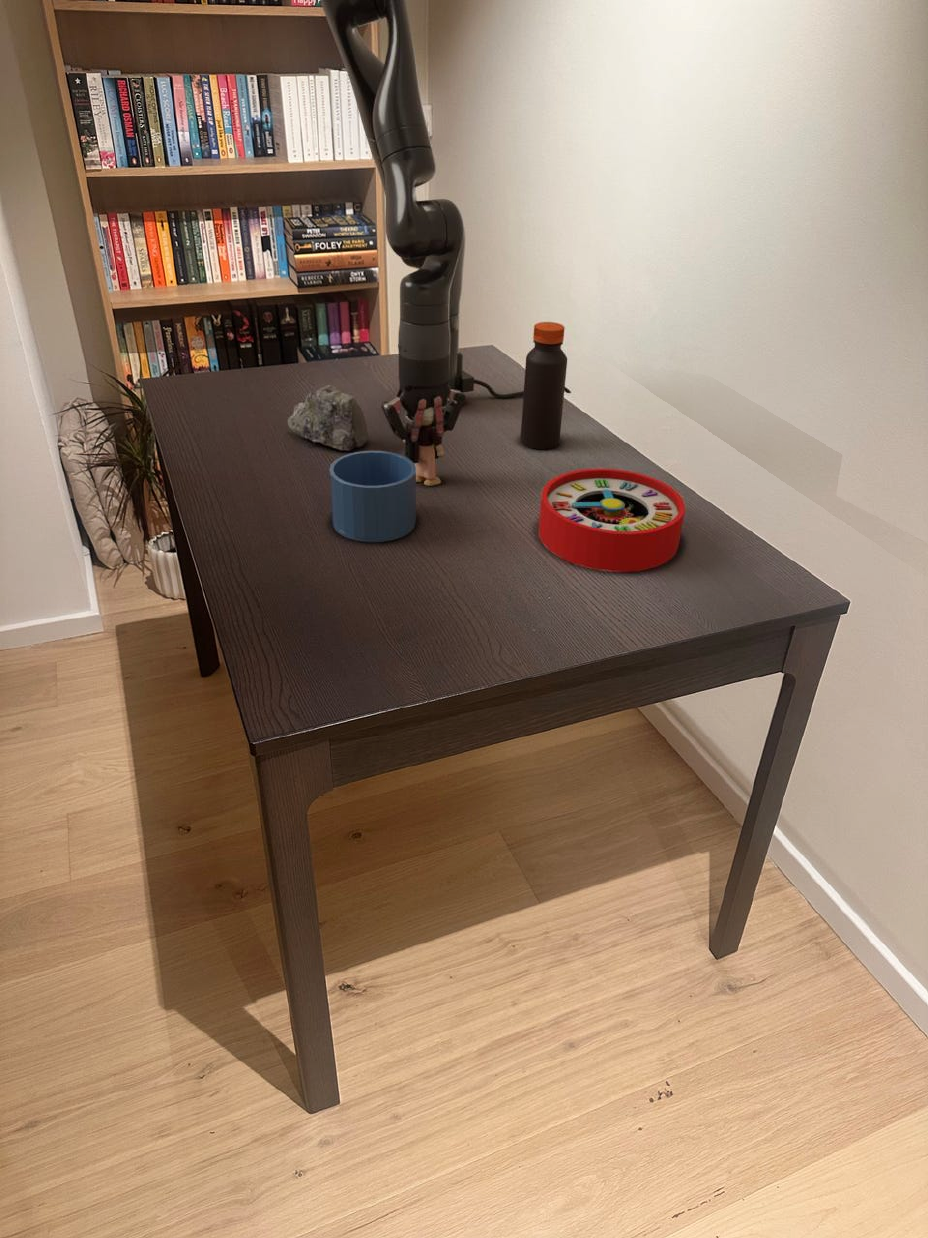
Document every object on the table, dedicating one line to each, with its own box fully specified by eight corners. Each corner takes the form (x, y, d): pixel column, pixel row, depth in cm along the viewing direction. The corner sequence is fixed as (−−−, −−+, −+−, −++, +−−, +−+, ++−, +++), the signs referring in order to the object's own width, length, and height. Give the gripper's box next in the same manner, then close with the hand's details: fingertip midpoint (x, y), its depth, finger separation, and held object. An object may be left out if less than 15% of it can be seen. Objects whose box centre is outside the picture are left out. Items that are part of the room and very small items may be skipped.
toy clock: (703, 533, 120) (553, 534, 118) (695, 571, 123) (549, 572, 122) (664, 468, 136) (532, 468, 135) (658, 503, 140) (529, 503, 138)
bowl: (392, 496, 139) (391, 444, 134) (430, 530, 130) (431, 476, 126) (319, 513, 134) (316, 460, 129) (354, 550, 125) (351, 494, 120)
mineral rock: (285, 432, 158) (280, 375, 152) (341, 421, 163) (338, 366, 157) (316, 460, 149) (312, 401, 143) (374, 447, 154) (373, 390, 148)
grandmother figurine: (450, 480, 144) (453, 403, 137) (440, 489, 141) (442, 411, 134) (407, 470, 147) (408, 394, 140) (396, 479, 144) (396, 401, 137)
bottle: (514, 445, 156) (522, 328, 145) (527, 431, 161) (536, 317, 150) (552, 453, 154) (563, 334, 143) (564, 438, 159) (575, 323, 148)
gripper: (392, 364, 126) (394, 477, 136) (478, 350, 133) (474, 459, 142) (369, 348, 132) (372, 458, 141) (453, 335, 138) (450, 442, 148)
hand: (423, 458), depth 142 cm, fingers closed on grandmother figurine, 3 cm apart
